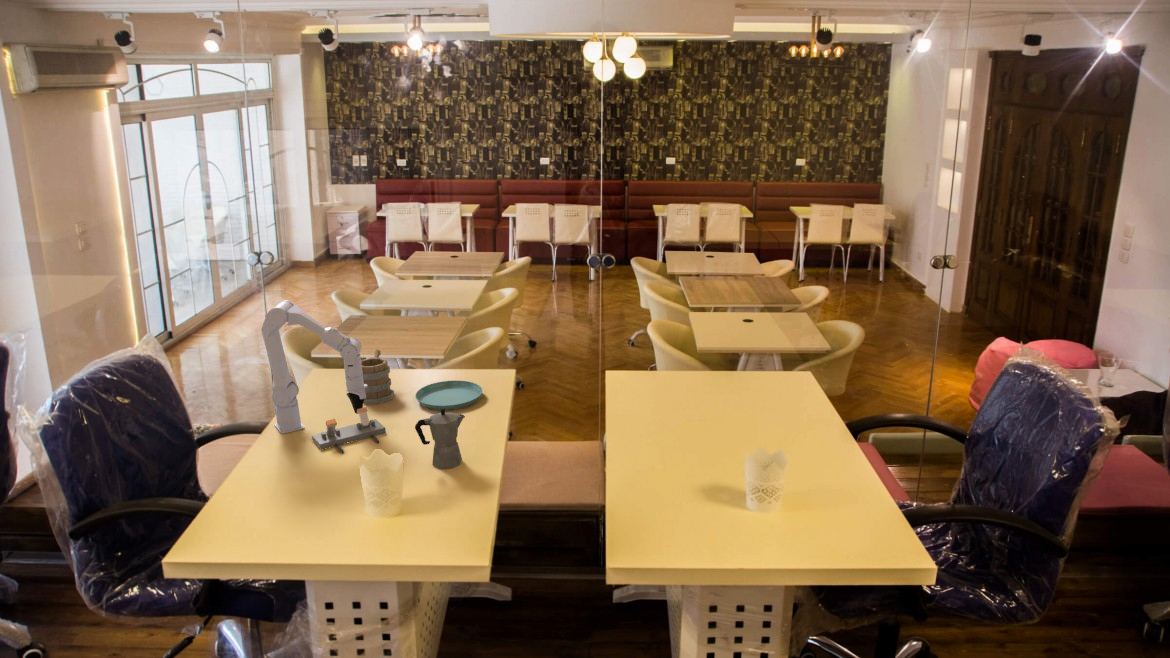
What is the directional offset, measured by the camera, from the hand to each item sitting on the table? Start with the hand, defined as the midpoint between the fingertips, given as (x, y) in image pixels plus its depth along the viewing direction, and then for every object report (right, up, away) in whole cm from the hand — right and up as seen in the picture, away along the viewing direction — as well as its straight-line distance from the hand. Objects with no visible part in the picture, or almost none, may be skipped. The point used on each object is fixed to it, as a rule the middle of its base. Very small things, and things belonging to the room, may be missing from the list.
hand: (358, 412), depth 305 cm
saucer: (+28, +2, +22) cm, 36 cm away
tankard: (0, +4, +30) cm, 30 cm away
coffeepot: (+34, -13, -29) cm, 46 cm away
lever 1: (-6, -6, -11) cm, 14 cm away
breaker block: (+1, -8, -10) cm, 13 cm away
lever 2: (+4, -4, -5) cm, 7 cm away
